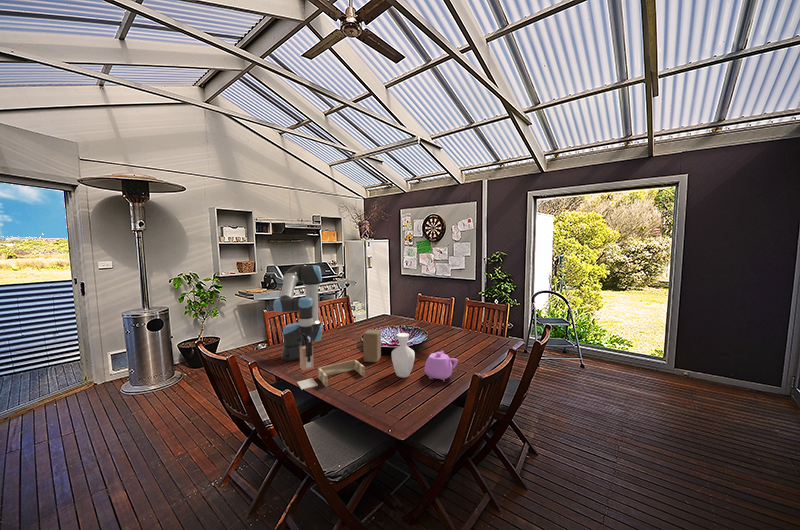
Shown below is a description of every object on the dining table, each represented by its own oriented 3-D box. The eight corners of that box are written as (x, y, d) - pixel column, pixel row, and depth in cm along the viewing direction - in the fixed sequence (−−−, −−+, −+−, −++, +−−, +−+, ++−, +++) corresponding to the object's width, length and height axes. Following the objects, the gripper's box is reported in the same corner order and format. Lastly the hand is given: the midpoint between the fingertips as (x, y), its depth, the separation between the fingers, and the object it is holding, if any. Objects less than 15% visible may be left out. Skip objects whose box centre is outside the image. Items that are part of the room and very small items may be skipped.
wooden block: (377, 363, 201) (377, 334, 200) (363, 361, 203) (362, 333, 202) (381, 357, 211) (381, 329, 210) (367, 356, 213) (367, 328, 212)
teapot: (460, 371, 189) (460, 348, 188) (455, 385, 170) (455, 359, 169) (429, 367, 195) (429, 344, 194) (421, 380, 176) (421, 355, 175)
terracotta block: (310, 364, 174) (310, 344, 173) (313, 368, 169) (313, 347, 168) (300, 366, 171) (299, 346, 170) (302, 370, 166) (302, 349, 165)
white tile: (297, 382, 173) (297, 381, 173) (312, 379, 178) (312, 378, 178) (301, 390, 164) (301, 388, 164) (317, 385, 169) (317, 384, 169)
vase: (388, 371, 188) (387, 332, 186) (408, 368, 193) (408, 330, 191) (396, 381, 175) (396, 339, 173) (418, 377, 180) (418, 336, 178)
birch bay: (317, 377, 180) (317, 367, 179) (355, 368, 193) (355, 359, 192) (325, 386, 168) (325, 376, 168) (364, 376, 181) (364, 366, 181)
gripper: (294, 322, 174) (295, 361, 176) (303, 330, 159) (304, 372, 160) (307, 320, 178) (308, 358, 180) (317, 328, 163) (318, 369, 164)
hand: (306, 365), depth 170 cm, fingers closed on terracotta block, 6 cm apart
